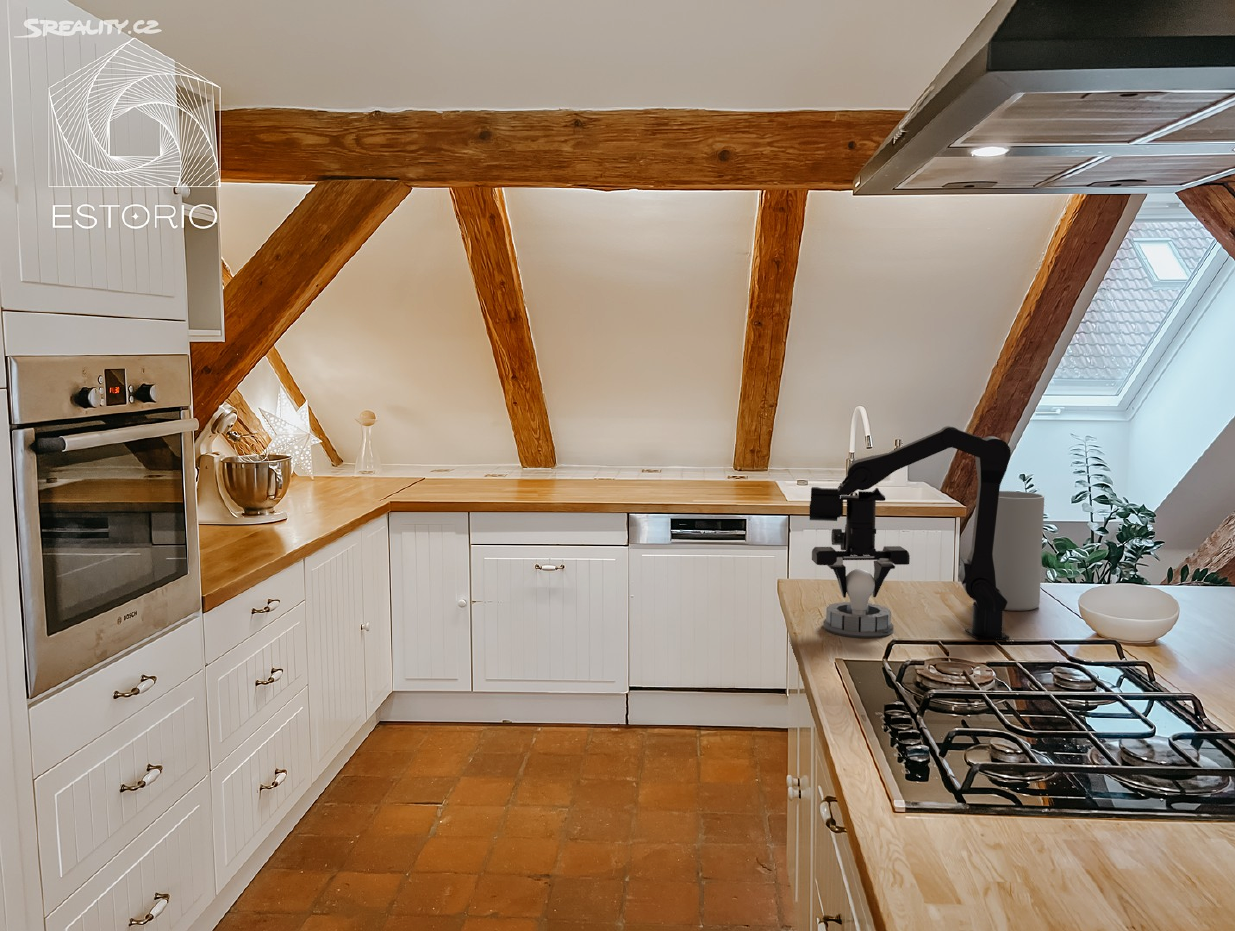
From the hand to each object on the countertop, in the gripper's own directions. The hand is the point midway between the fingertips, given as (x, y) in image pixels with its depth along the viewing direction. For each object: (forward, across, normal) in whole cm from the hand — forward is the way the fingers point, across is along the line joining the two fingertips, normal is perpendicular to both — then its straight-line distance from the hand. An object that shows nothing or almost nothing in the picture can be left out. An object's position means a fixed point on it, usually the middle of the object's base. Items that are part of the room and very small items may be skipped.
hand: (859, 597), depth 198 cm
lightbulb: (+5, 0, 0) cm, 5 cm away
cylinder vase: (+7, -39, -19) cm, 44 cm away
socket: (+7, 0, 0) cm, 7 cm away
